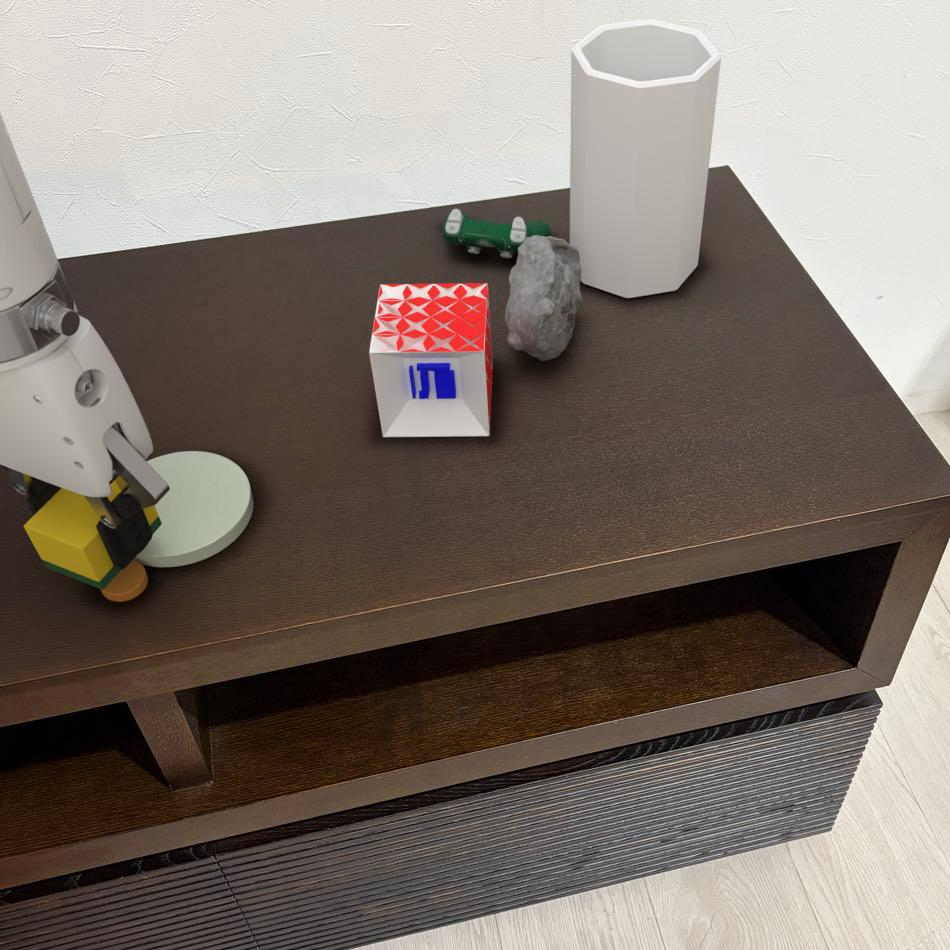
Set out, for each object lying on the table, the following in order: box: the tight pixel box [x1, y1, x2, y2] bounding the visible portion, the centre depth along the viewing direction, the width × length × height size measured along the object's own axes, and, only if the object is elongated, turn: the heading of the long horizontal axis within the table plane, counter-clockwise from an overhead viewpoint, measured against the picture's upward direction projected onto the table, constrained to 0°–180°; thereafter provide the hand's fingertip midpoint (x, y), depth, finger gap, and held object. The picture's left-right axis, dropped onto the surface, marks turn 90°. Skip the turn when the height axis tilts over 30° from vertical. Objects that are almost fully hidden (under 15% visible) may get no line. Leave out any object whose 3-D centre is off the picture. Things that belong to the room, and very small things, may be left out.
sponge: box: [23, 480, 162, 591], centre depth 69 cm, size 6×4×4 cm
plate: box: [133, 450, 255, 568], centre depth 76 cm, size 10×10×1 cm
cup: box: [569, 18, 722, 299], centre depth 89 cm, size 11×11×18 cm
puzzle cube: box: [368, 282, 494, 438], centre depth 81 cm, size 8×8×8 cm
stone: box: [504, 235, 583, 362], centre depth 84 cm, size 9×7×10 cm
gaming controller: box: [442, 208, 552, 259], centre depth 96 cm, size 9×4×6 cm
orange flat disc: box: [99, 560, 149, 603], centre depth 72 cm, size 3×3×1 cm
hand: (100, 537), depth 70 cm, fingers closed on sponge, 4 cm apart
